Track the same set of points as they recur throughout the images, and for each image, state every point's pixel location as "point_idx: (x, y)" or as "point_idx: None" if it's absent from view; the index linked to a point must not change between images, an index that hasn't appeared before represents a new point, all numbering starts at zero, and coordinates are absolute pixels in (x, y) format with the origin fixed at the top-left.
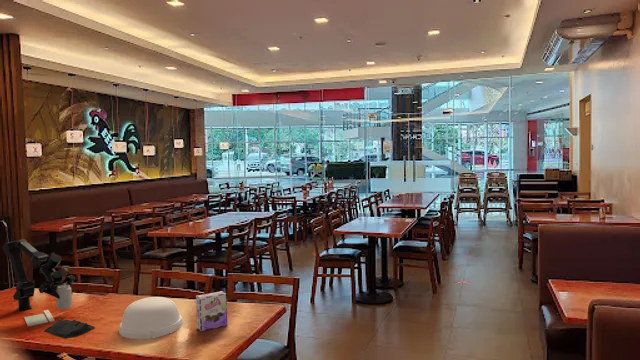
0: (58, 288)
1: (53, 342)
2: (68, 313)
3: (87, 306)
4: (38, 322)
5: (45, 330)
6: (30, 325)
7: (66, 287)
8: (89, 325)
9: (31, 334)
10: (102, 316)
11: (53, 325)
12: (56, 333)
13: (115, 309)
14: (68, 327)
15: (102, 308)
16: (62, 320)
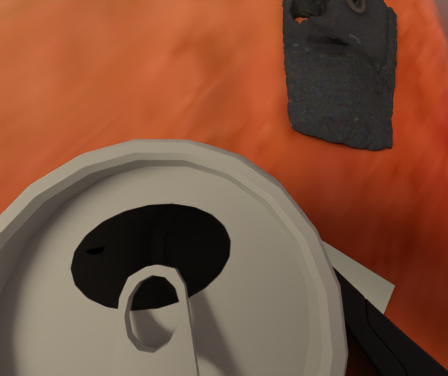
0: (324, 322)
1: (433, 30)
2: None
3: None
4: (343, 271)
5: (391, 140)
6: (381, 278)
7: (198, 150)
8: (294, 2)
9: (434, 170)
10: (167, 56)
11: (374, 117)
12: (394, 67)
13: (68, 67)
14: (371, 27)
15: (64, 136)
16: (334, 107)
